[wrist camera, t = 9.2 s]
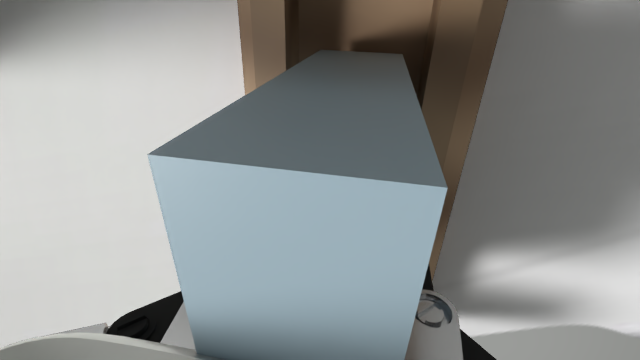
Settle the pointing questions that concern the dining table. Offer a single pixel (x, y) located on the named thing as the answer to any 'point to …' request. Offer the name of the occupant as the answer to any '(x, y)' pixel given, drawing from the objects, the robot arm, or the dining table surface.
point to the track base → (397, 38)
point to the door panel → (305, 213)
